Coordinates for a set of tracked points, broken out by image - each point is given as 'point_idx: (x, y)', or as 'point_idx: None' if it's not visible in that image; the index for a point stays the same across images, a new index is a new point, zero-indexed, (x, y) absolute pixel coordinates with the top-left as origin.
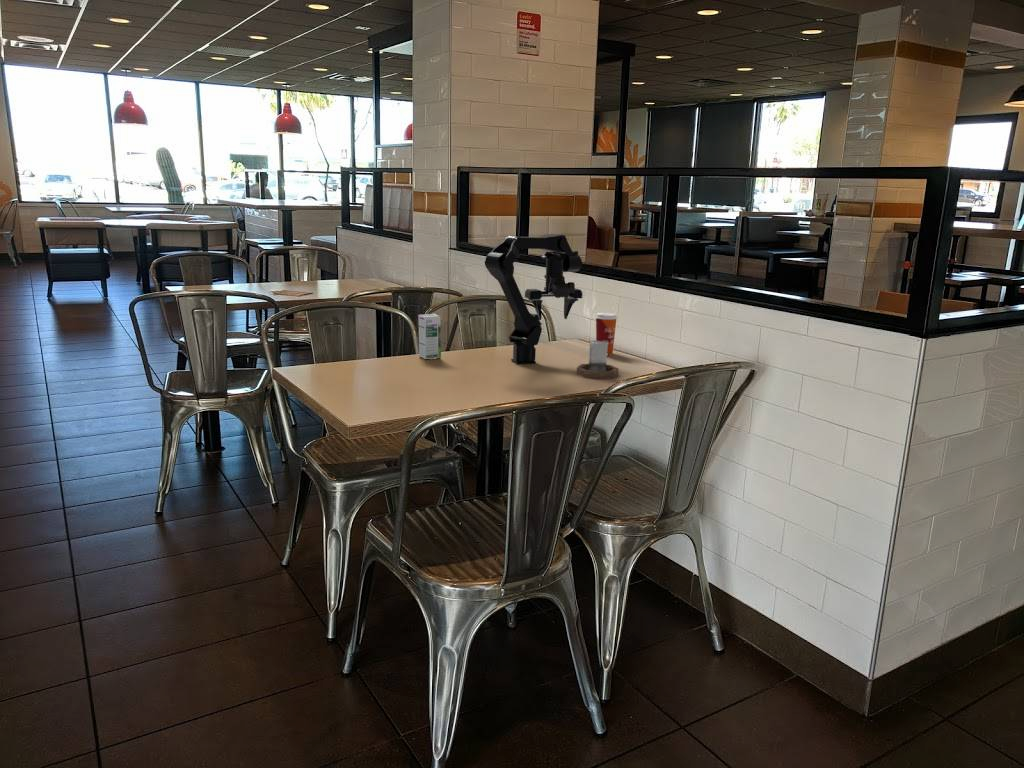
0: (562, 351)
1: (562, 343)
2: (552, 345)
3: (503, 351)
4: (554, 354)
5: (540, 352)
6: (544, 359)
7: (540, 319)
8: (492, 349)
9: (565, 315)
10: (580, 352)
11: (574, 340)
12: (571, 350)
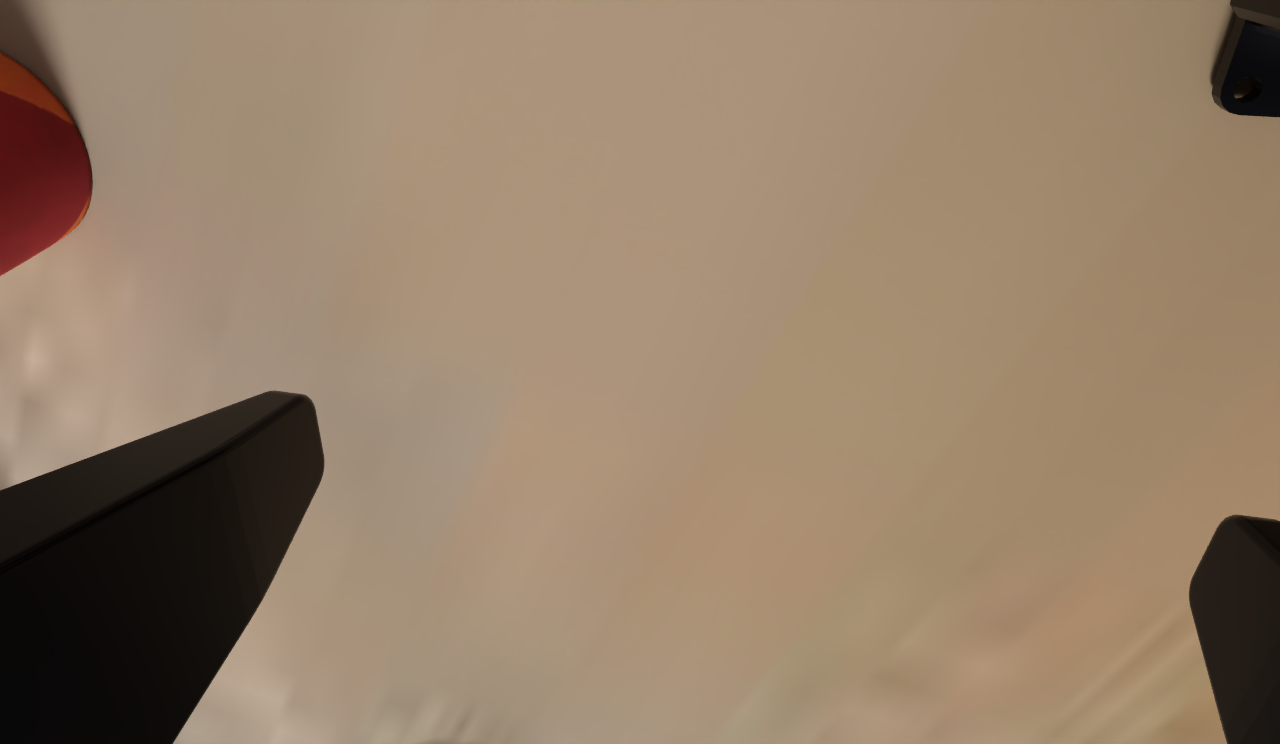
0: (474, 410)
1: (348, 691)
2: (473, 663)
3: (1154, 630)
4: (641, 299)
5: (757, 450)
6: (954, 40)
7: (1267, 523)
8: (1198, 738)
9: (248, 468)
10: (279, 295)
11: (207, 737)
12: (354, 419)
